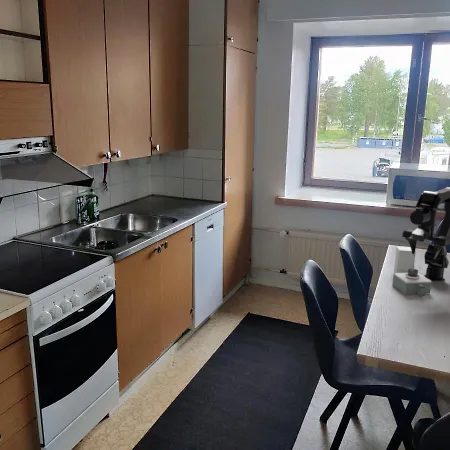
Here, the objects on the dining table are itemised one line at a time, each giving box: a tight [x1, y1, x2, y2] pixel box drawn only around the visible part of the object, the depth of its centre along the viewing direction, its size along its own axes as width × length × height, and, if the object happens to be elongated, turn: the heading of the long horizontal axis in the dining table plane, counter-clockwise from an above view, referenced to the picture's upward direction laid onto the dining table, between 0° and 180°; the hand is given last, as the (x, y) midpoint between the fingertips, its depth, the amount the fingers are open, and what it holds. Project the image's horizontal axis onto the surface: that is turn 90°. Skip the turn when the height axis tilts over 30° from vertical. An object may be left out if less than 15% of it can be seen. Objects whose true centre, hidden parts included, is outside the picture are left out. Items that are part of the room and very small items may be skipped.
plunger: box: [405, 268, 420, 279], centre depth 199 cm, size 8×8×8 cm
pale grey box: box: [391, 272, 433, 297], centre depth 198 cm, size 11×14×6 cm
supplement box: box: [393, 245, 417, 274], centre depth 216 cm, size 7×7×13 cm
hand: (423, 256), depth 202 cm, fingers open, 9 cm apart
